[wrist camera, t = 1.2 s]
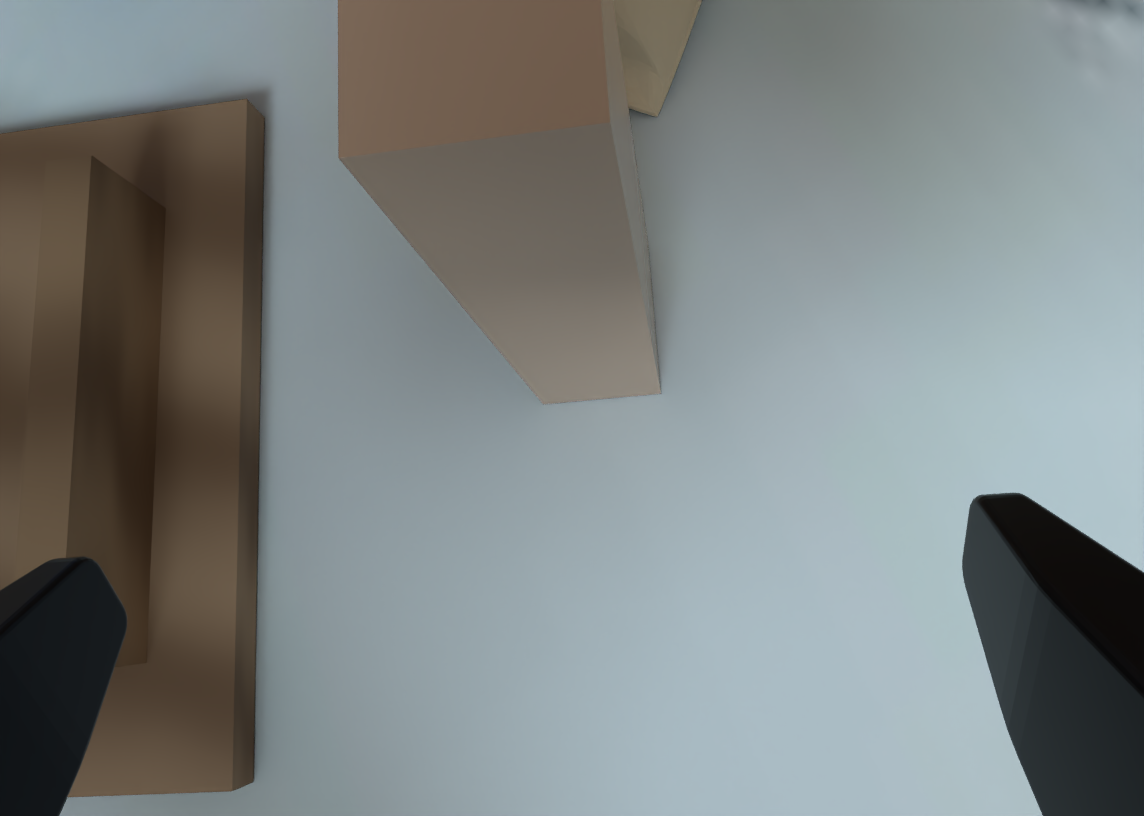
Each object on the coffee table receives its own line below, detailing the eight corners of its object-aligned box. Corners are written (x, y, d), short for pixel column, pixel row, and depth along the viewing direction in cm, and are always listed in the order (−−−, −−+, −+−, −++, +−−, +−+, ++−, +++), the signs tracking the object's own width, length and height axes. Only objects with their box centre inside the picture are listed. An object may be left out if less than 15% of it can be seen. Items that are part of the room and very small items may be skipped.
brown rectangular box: (648, 244, 23) (585, -191, 10) (660, 393, 22) (609, 122, 9) (535, 257, 23) (337, -149, 10) (543, 404, 22) (338, 157, 9)
